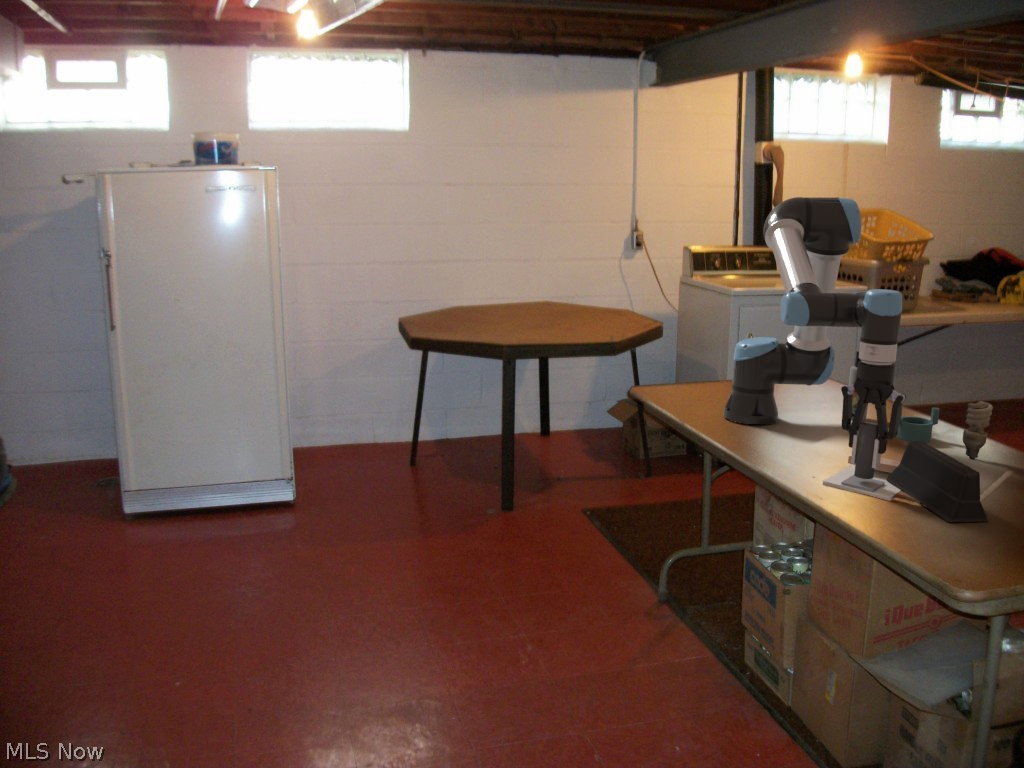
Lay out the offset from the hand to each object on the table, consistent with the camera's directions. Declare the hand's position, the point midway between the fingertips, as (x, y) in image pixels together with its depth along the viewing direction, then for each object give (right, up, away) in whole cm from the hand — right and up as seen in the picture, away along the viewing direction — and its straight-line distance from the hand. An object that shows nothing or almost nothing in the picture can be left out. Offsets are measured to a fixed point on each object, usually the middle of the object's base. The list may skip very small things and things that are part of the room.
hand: (865, 464), depth 192 cm
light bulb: (+36, -1, +22) cm, 42 cm away
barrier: (+12, -7, -7) cm, 16 cm away
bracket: (+29, +3, +40) cm, 50 cm away
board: (+6, -4, +8) cm, 11 cm away
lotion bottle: (+21, +8, +59) cm, 63 cm away
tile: (+11, -1, +14) cm, 18 cm away
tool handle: (0, -3, +1) cm, 3 cm away
